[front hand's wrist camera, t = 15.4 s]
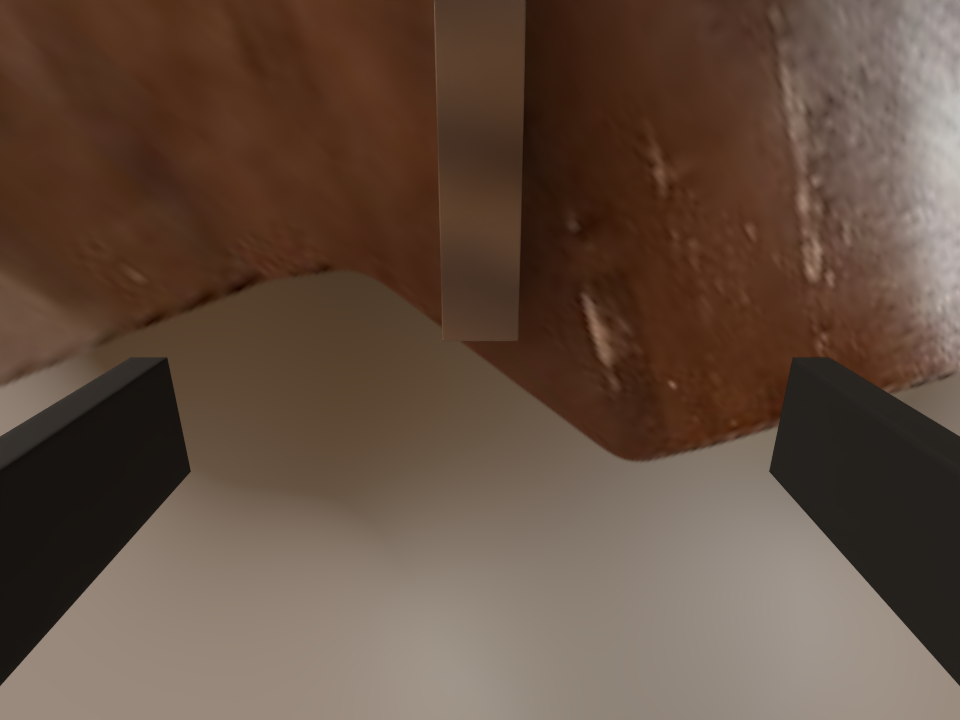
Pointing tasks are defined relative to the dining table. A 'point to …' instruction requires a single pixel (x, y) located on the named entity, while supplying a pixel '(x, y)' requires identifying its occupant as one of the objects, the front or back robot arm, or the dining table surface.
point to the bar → (480, 164)
